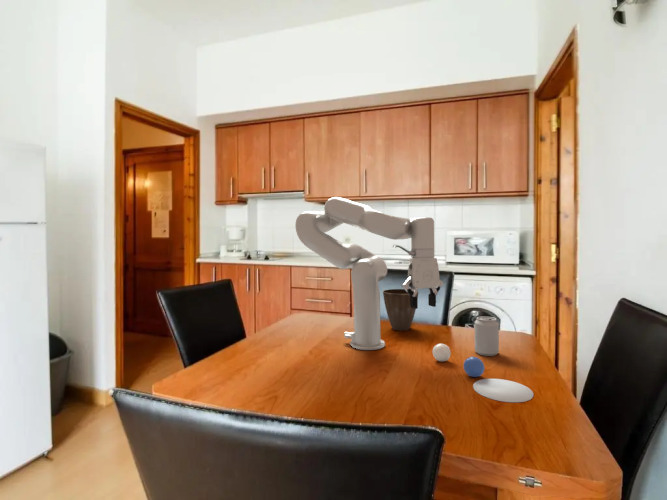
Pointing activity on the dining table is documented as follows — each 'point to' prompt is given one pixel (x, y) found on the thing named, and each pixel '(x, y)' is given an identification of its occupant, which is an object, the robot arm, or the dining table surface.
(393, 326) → the plant pot
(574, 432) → the dining table surface
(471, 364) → the object ball
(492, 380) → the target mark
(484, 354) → the can
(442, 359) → the cue ball
